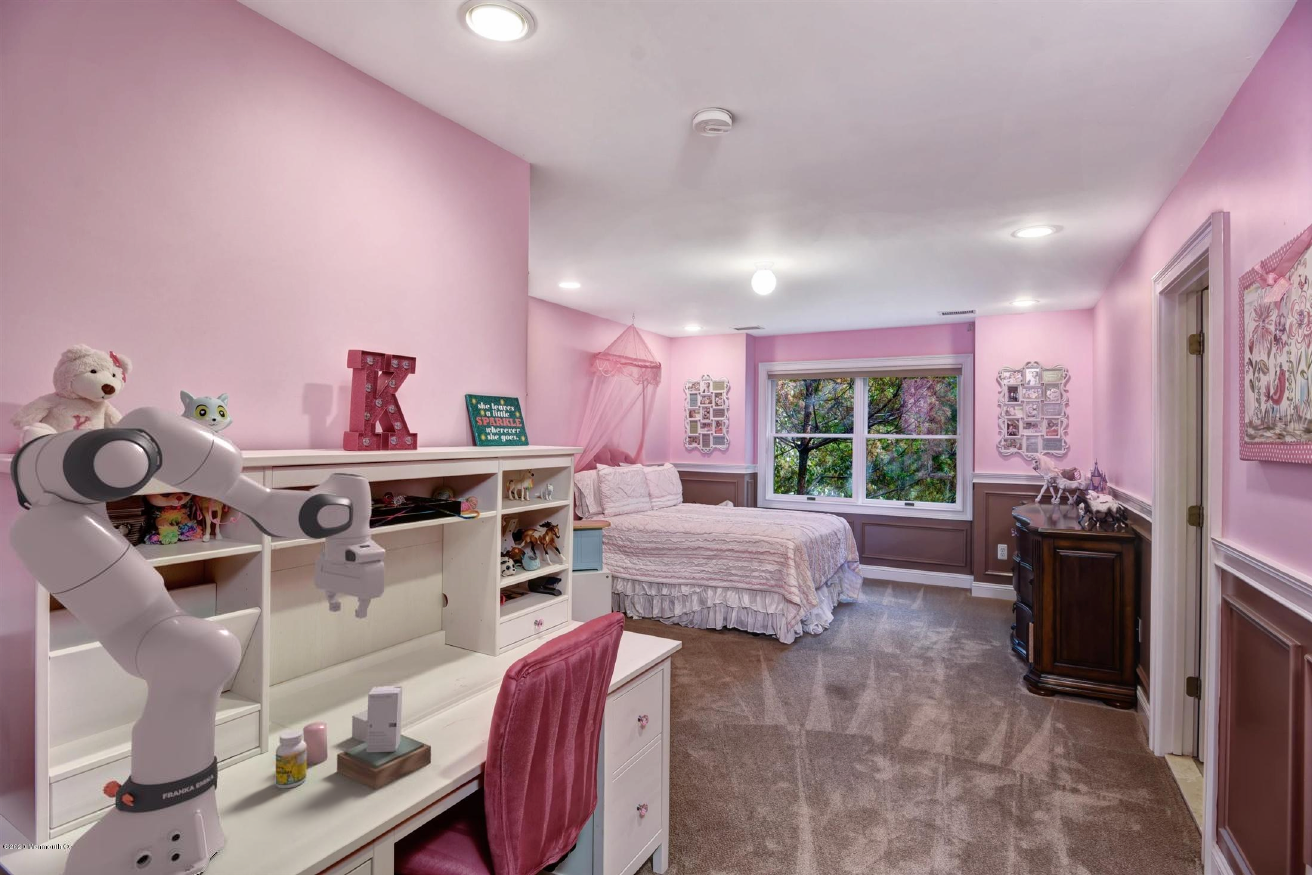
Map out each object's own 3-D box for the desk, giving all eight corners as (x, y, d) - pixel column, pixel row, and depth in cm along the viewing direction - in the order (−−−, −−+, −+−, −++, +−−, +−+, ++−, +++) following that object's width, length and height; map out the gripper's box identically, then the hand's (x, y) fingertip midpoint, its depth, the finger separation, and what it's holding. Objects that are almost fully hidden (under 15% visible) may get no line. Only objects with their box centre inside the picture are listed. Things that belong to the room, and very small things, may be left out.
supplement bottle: (312, 776, 133) (312, 729, 133) (292, 790, 127) (293, 741, 127) (289, 774, 134) (289, 726, 134) (268, 787, 128) (269, 738, 129)
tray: (375, 789, 128) (375, 768, 128) (336, 771, 135) (337, 751, 135) (430, 762, 139) (430, 743, 139) (392, 746, 146) (392, 728, 146)
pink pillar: (317, 765, 137) (316, 732, 137) (299, 763, 138) (298, 730, 138) (332, 754, 142) (331, 722, 141) (314, 752, 143) (313, 721, 142)
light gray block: (365, 742, 148) (365, 720, 148) (352, 737, 151) (352, 715, 151) (384, 734, 152) (385, 713, 152) (371, 729, 155) (371, 708, 155)
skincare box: (365, 753, 134) (366, 694, 134) (371, 743, 139) (372, 686, 139) (397, 751, 135) (397, 692, 135) (402, 741, 140) (402, 684, 140)
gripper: (306, 546, 143) (305, 610, 142) (363, 555, 132) (362, 624, 131) (334, 543, 148) (333, 604, 148) (390, 551, 137) (390, 617, 137)
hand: (347, 614), depth 140 cm, fingers open, 8 cm apart
